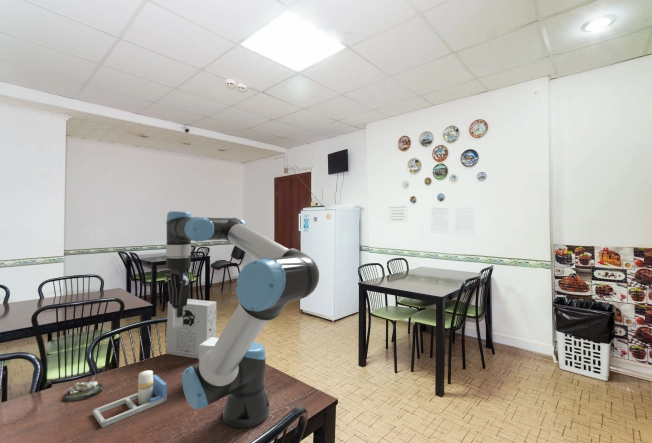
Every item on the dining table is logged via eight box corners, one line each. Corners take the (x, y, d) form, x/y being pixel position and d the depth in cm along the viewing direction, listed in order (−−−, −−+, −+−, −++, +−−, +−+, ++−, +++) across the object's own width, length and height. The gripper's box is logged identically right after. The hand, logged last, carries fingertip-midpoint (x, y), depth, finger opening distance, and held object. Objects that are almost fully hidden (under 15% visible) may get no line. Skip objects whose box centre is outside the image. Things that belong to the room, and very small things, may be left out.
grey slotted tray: (155, 390, 116) (155, 374, 116) (166, 400, 110) (167, 383, 110) (93, 414, 102) (93, 395, 102) (102, 427, 95) (102, 408, 95)
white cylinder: (155, 401, 109) (155, 373, 109) (140, 407, 106) (140, 378, 106) (149, 396, 112) (150, 368, 112) (135, 401, 109) (135, 373, 109)
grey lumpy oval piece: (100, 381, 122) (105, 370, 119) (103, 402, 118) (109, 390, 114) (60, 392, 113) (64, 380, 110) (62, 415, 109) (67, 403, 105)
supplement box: (217, 385, 121) (218, 347, 120) (197, 382, 122) (198, 344, 122) (229, 374, 129) (230, 338, 129) (210, 371, 131) (211, 336, 131)
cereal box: (215, 353, 149) (216, 301, 149) (206, 360, 142) (207, 305, 142) (177, 347, 155) (178, 297, 155) (166, 354, 147) (167, 301, 147)
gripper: (198, 257, 104) (198, 327, 104) (180, 254, 112) (179, 319, 112) (176, 259, 98) (175, 333, 98) (158, 256, 107) (157, 324, 107)
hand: (177, 326), depth 105 cm, fingers closed
